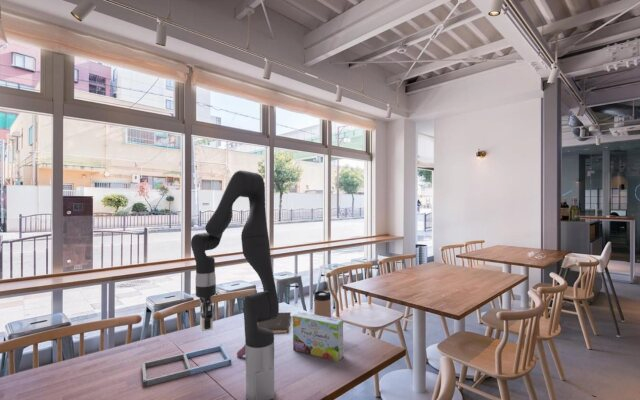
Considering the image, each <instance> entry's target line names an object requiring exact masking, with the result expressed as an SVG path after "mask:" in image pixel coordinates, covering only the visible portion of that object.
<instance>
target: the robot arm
mask: <svg viewBox="0 0 640 400" xmlns="http://www.w3.org/2000/svg"><path fill="white" fill-rule="evenodd" d="M265 186H266V185H265V181H264V178H263V176H262V175H261V174H259V173H256V172H253V171H252V172H251V171H247V170H243V169H242V170H236V171H235V172H234V173H233V174H232V175H231V177H230V178H229V181H228V183H227V185H226V188H225V190H224V192H223V194H222V196H221V199H220V200H219V204H218V206H217V207H216V209H215V211H214V212H213V214H212V215H211V216H210V218H209V219H208V221H207V223H206V224H205V226H204V227H205V228H204V229H205V232H200V233H198V232H197V233H195V234H194V235H193V236H192V237H191V239H190V247H191V250H192V254H193V257H194V260H195V296H196V297H197V298H199V306H200V307H199V310H200V313H203V314H204V328H205V329H210V328H211V319H212V314H213V310H214V309H213V308H214V306H213V300H212V299H211V298H212V297H214V296H216V293H217V288H216V287H217V285H216V284H217V280H216V279H217V277H216V262H215V258H214V257H213V256H211V255H207V254H206V251H212V250H215V249H216V248H218V246H219V244H220V242H221V241H222V240H221V239H222V236H223V233H224V232H225V231H226V229H228V227H229V226H230V224H231V221H232V219H233V206H234V203H235V202H236V201H237V200H238V199H239V198H240V197H241V198H248V202H249V212H248V213H249V214H248V216H247V219H246V222H245V223H244V225H243V227H242V230H241V235H240V237H241V238H240V239H241V248H242V254H243V256H244V258H245V260H246V261H247V262H248V265H250V267H251V268H252V269H253V270H254V271H255V273H256V274H257V275H258V278H259V279H260V282H261V286H262V288H263V289H262V290H263V291H257V292H252V293H248V294H246V295H244V297H243V298H244V299H243V308H242V309H243V323H244V337H245V342H244V345H245V346H246V354H245V393H246V394H245V397H246V399H247V400H273V399H275V392H276V391H275V390H276V389H275V385H276V383H275V335H274V334H275V333H273V331H272V330H270V329H267V328H262V327H258V326H257V322H262V321H267V320H271V319H275V318H276V317H277V316H278V313H280V312H279V311H280V308H279V307H280V305H279V299H278V292H277V287H276V283H275V277H274V272H273V271H274V270H273V266H272V257H271V256H272V255H271V246H270V239H269V238H270V237H269V232H268V231H269V230H268V225H267V223H268V222H267V213H266V187H265ZM207 315H209V316H207Z"/></svg>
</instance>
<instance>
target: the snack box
mask: <svg viewBox="0 0 640 400" xmlns="http://www.w3.org/2000/svg"><path fill="white" fill-rule="evenodd" d="M292 348H293V351H295V352H296V351H297V352H300V353H304V354H307V355H311V356H316V357H320V358H323V359H326V358H327V360H330V359H331V361H335V362H340V361H341V359H342V358H343V357H344V320H343V319H341V318H340V319H338V318H334V317H331V318H329V317H324V316H319V315H314V314H313V313H307V312H301V311H298V312H296V313H295V314H293V315H292Z"/></svg>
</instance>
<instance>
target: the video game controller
mask: <svg viewBox="0 0 640 400" xmlns="http://www.w3.org/2000/svg"><path fill="white" fill-rule="evenodd" d="M236 356H237V357H240V358H241V357H243V356H246V346H245V344H244V345H243V346H242V347H241V348H240V349H238V351H237V353H236Z"/></svg>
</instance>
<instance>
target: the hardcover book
mask: <svg viewBox="0 0 640 400" xmlns="http://www.w3.org/2000/svg"><path fill="white" fill-rule="evenodd" d="M291 314H292V312H288V311H287V312H279V313H278V316H277V317H276V318H275V319H271V320H267V321H262V322H257V326H258V327H262V328H267V329H270V330H272V331H273V333H274V334H287V332H288V329H289V323H290V319H291Z"/></svg>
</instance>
